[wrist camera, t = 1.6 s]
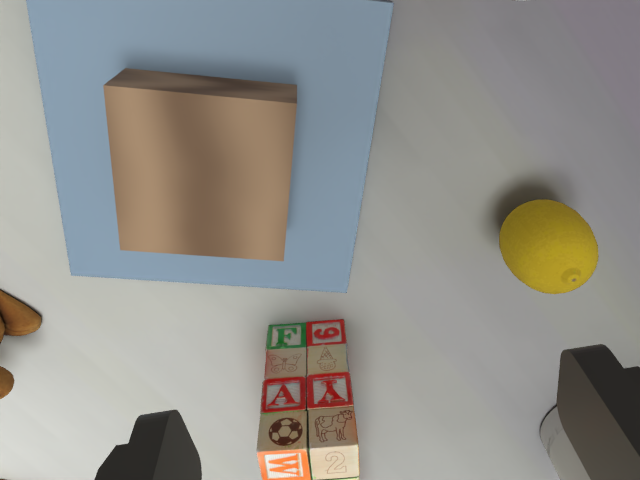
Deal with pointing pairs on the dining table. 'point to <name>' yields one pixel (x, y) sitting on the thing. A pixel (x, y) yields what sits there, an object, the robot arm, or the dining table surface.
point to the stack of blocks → (307, 405)
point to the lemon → (548, 246)
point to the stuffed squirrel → (14, 330)
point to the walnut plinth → (201, 163)
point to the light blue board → (226, 62)
